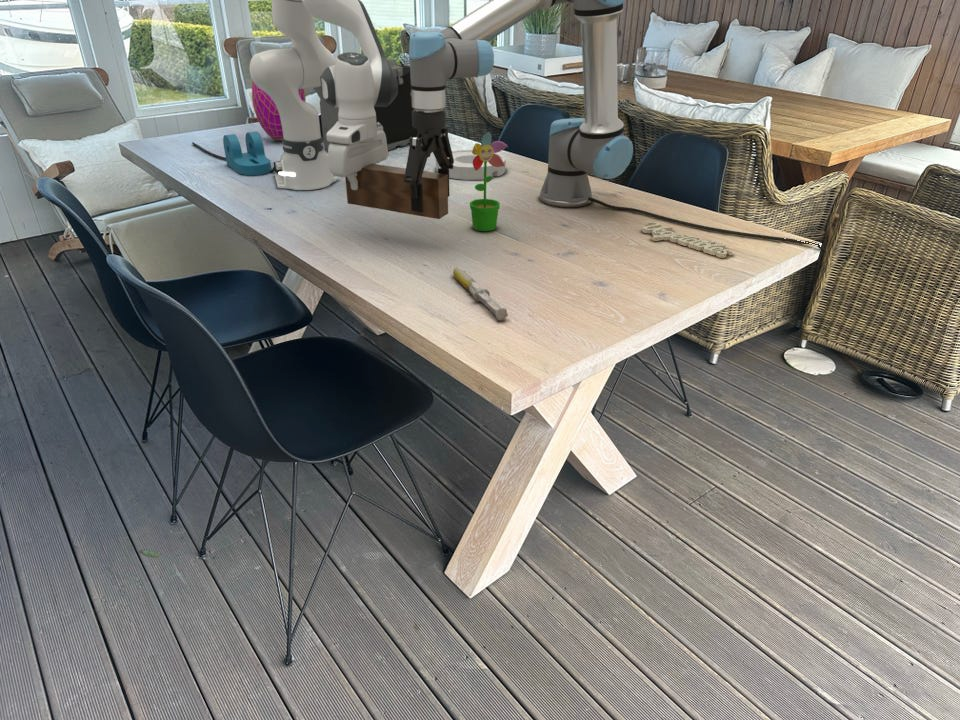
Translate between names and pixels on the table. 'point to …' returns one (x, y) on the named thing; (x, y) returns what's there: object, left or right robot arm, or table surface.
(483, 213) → the potted flower
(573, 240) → the table surface
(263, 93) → the decorative egg
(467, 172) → the ashtray
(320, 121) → the electronic device
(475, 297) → the syringe
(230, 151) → the camera mount
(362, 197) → the bar
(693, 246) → the decorative sign
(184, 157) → the table surface
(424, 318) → the table surface
